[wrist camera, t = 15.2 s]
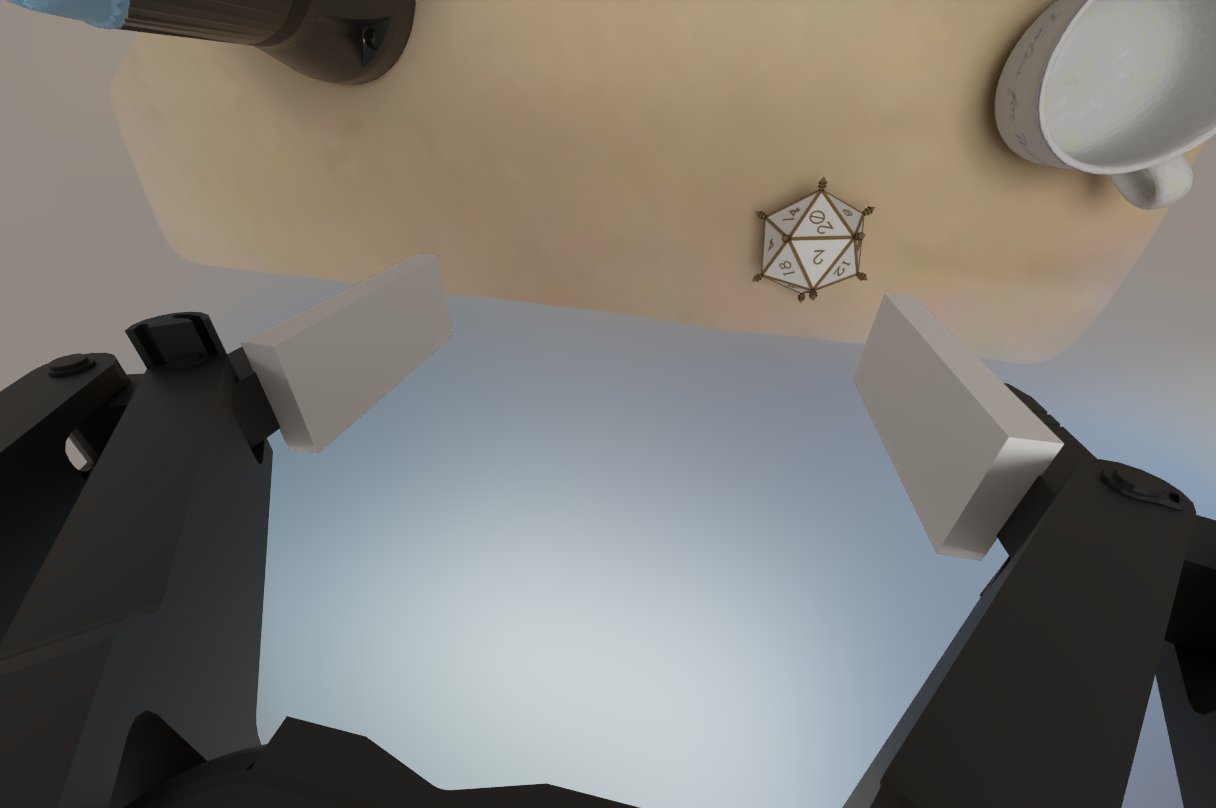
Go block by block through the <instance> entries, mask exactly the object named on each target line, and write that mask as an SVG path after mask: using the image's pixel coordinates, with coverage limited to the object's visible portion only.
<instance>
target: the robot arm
mask: <svg viewBox="0 0 1216 808" xmlns="http://www.w3.org/2000/svg"><path fill="white" fill-rule="evenodd" d="M7 1H9V2H11V3H14V4H17V5H19V6H22V7H25V8H28V9H30V10H34V11H38V12H42V13H47V14H52V15H57V16H61V17H66V18H71V19H76V20H81V21H84V22H86V23H88V24H90V25H93V26H95V27H98V28H105V29H122V30H130V31H138V32H146V33H155V34H163V35H171V36H179V37H187V38H196V39H204V40H212V41H220V42H228V43H237V44H245V45H251V46H255V47H256V48H258V49H260V50H262V51H263V52H265V53H267V54H269V55H270V56H272V57H274V58H275V59H277V60H279V61H281V62H282V63H284V64H286V65H288V66H289V67H291V68H293V69H294V70H296V71H298V72H300V73H302V74H304V75H306V76H309V77H311V78H314V79H317V80H321V81H325V82H331V83H343V84H359V83H364V82H368V81H371V80H373V79H375V78H377V77H379V76H380V75H382V74H383V73H385V72H386V71H387V70H388V69H389V68H390V67H391V66H392V65H393V64H394V62H395V61H396V60H397V58H398V57H399V55H400V54H401V52H402V50H403V48H404V46H405V44H406V41H407V38H408V35H409V32H410V28H411V24H412V19H413V13H414V1H415V0H7ZM125 332H126V334H127V335H128V337H129V339H130V340H131V342H132V344H133V345H134V347H135V349H136V351H137V352H138V354H139V356H140V357H141V359H142V361H143V362H144V364H145V366H146V367H147V370H146V372H145V374H128V375H126V373H125V371H124V370H123V368H122V367H121V365H120V363H119V362H118V360H117V359H116V357H115V356H114V355H112V354H108V353H90V354H73V355H69V356H64V357H61V358H57V359H55V360H53V361H51V362H50V363H48V364H45V365H43V366H41V367H39V368H37V369H35V370H33V371H31V372H30V373H28V374H27V375H25V376H23V377H22V378H20V379H19V380H17V381H16V382H14V383H13V384H11V385H10V386H8V387H7V388H5V389H4V390H2V391H1V392H0V808H638V807H635V806H631V805H627V804H623V803H619V802H616V801H612V800H608V799H604V798H600V797H596V796H592V795H589V794H585V793H581V792H576V791H573V790H569V789H565V788H562V787H558V786H554V785H550V784H535V785H521V786H505V787H491V788H477V789H464V790H443V789H439V788H437V787H435V786H433V785H432V784H430V783H429V782H428V781H426V780H425V779H423V778H422V777H421V776H419V775H418V774H416V773H415V772H414V771H412V770H411V769H410V768H408V767H407V766H406V765H404V764H403V763H401V762H400V761H399V760H397V759H396V758H395V757H393V756H392V755H390V754H389V753H388V752H386V751H385V750H383V749H382V748H381V747H379V746H378V745H377V744H375V743H374V742H372V741H371V740H370V739H368V738H367V737H365V736H361V735H357V734H353V733H349V732H346V731H342V730H338V729H334V728H330V727H326V726H322V725H319V724H315V723H311V722H307V721H303V720H299V719H295V718H291V717H288V716H287V717H286V719H285V720H284V721H283V723H282V724H281V726H280V727H279V729H278V730H277V731H276V733H275V734H274V736H273V737H272V739H271V740H270V741H269V743H268V744H265V745H261V743H260V740H259V736H258V732H257V726H256V705H257V690H258V674H259V659H260V658H259V657H260V643H261V628H262V612H263V597H264V582H265V565H266V550H267V535H268V518H269V503H270V488H271V473H272V457H273V451H272V448H271V446H270V444H269V442H268V440H267V437H268V436H270V435H271V434H272V433H274V432H275V431H277V430H278V429H280V431H281V433H282V435H283V438H284V440H285V442H286V444H287V447H288V449H289V450H295V451H301V452H307V453H314V454H319V453H320V452H321V451H322V450H323V449H324V448H325V447H327V446H328V445H329V444H330V443H331V442H332V441H334V440H335V439H336V438H337V437H338V436H339V435H340V434H341V433H343V432H344V431H345V430H346V429H347V428H348V427H349V426H351V425H352V424H353V423H354V422H355V421H356V420H357V419H359V418H360V417H361V416H362V415H363V414H364V413H365V412H366V411H367V410H369V409H370V408H371V407H372V406H373V405H374V404H376V403H377V402H378V401H379V400H380V399H381V398H382V397H383V396H385V395H386V394H387V393H388V392H389V391H390V390H391V389H393V388H394V387H395V386H396V385H397V384H398V383H399V382H400V381H402V380H403V379H404V378H405V377H406V376H407V375H408V374H410V373H411V372H412V371H413V370H414V369H415V368H416V367H418V366H419V365H420V364H421V363H422V362H423V361H424V360H425V359H427V358H428V357H429V356H430V355H431V354H432V353H433V352H435V351H436V350H437V349H438V348H439V347H440V346H441V345H443V344H444V343H445V342H446V341H447V340H448V339H449V338H450V337H451V336H453V333H452V327H451V322H450V316H449V310H448V304H447V298H446V293H445V287H444V281H443V275H442V270H441V264H440V258H439V255H431V254H419V253H416V254H414V255H412V256H410V257H408V258H406V259H404V260H402V261H400V262H398V263H396V264H394V265H392V266H390V267H388V268H387V269H385V270H383V271H381V272H379V273H377V274H375V275H373V276H371V277H369V278H367V279H365V280H363V281H361V282H359V283H357V284H355V285H353V286H351V287H349V288H347V289H345V290H343V291H341V292H339V293H337V294H335V295H333V296H331V297H329V298H327V299H325V300H323V301H321V302H319V303H317V304H315V305H313V306H311V307H309V308H307V309H305V310H303V311H301V312H299V313H297V314H295V315H293V316H291V317H289V318H288V319H285V320H283V321H282V322H279V323H277V324H275V325H273V326H272V327H269V328H267V329H266V330H264V331H262V332H260V333H258V334H256V335H254V336H252V337H250V338H248V339H246V340H244V341H242V342H241V344H242V347H241V348H239V349H237V350H235V351H233V352H231V353H229V354H227V353H226V351H225V349H224V347H223V345H222V343H221V341H220V339H219V337H218V334H217V332H216V330H215V328H214V326H213V324H212V322H211V320H210V318H209V316H208V315H207V314H204V313H201V312H182V313H173V314H167V315H161V316H157V317H154V318H150V319H146V320H143V321H141V322H139V323H136V324H134V325H132V326H130V327H129V328H128V329H127V330H125ZM853 381H854V383H855V385H856V387H857V390H858V392H859V393H860V396H861V398H862V400H863V402H864V404H865V406H866V408H867V410H868V412H869V415H870V417H871V419H872V420H873V423H874V425H875V427H876V429H877V431H878V433H879V435H880V437H881V439H882V442H883V444H884V446H885V448H886V450H887V452H888V454H889V456H890V458H891V460H892V462H893V464H894V466H895V468H896V471H897V473H898V475H899V477H900V479H901V481H902V483H903V485H904V487H905V489H906V492H907V494H908V495H909V498H910V500H911V502H912V504H913V506H914V508H915V510H916V512H917V514H918V516H919V518H920V521H921V523H922V525H923V527H924V529H925V531H926V533H927V535H928V537H929V539H930V541H931V543H932V545H933V548H934V550H935V552H936V554H941V555H947V556H954V557H960V558H966V559H972V560H979V561H981V560H982V559H983V558H984V556H985V555H986V554H987V552H988V551H989V549H990V548H991V546H992V545H993V544H994V542H995V541H996V539H997V538H998V539H999V540H1000V542H1001V544H1002V545H1003V547H1004V548H1005V550H1006V551H1007V553H1008V554H1009V557H1008V559H1007V560H1006V561H1005V562H1004V564H1003V565H1002V566H1001V568H1000V569H999V570H998V572H997V573H996V574H995V576H994V577H993V578H992V580H991V581H990V582H989V584H988V585H987V586H986V588H985V589H984V590H983V592H982V593H981V594H980V596H981V598H980V599H979V601H978V602H977V604H976V605H975V607H974V609H973V610H972V612H971V613H970V615H969V616H968V618H967V619H966V621H965V622H964V624H963V625H962V627H961V628H960V630H959V631H958V633H957V634H956V636H955V637H954V639H953V640H952V642H951V643H950V645H949V646H948V648H947V650H946V651H945V653H944V654H943V656H942V657H941V659H940V660H939V662H938V663H937V665H936V666H935V668H934V669H933V671H932V673H931V674H930V675H929V677H928V679H927V680H926V681H925V683H924V684H923V686H922V687H921V689H920V691H919V692H918V694H917V695H916V697H915V698H914V700H913V701H912V703H911V704H910V706H909V708H908V709H907V710H906V712H905V713H904V715H903V717H902V718H901V719H900V721H899V722H898V724H897V726H896V727H895V729H894V730H893V732H892V733H891V735H890V736H889V738H888V739H887V741H886V742H885V744H884V745H883V747H882V748H881V750H880V751H879V753H878V754H877V756H876V758H875V759H874V760H873V762H872V763H871V765H870V767H869V768H868V770H867V771H866V773H865V774H864V776H863V777H862V779H861V780H860V782H859V783H858V785H857V786H856V788H855V789H854V791H853V792H852V794H851V796H850V797H849V799H848V800H847V802H846V803H845V805H844V806H843V808H1121V807H1122V802H1123V799H1124V795H1125V791H1126V787H1127V783H1128V779H1129V775H1130V771H1131V767H1132V763H1133V759H1134V755H1135V752H1136V747H1137V744H1138V740H1139V736H1140V732H1141V728H1142V724H1143V720H1144V716H1145V712H1146V708H1147V704H1148V700H1149V696H1150V693H1151V689H1152V685H1153V681H1154V677H1155V674H1156V679H1157V683H1158V688H1159V693H1160V697H1161V702H1162V707H1163V711H1164V716H1165V721H1166V725H1167V730H1168V735H1169V739H1170V744H1171V749H1172V754H1173V758H1174V763H1175V768H1176V772H1177V777H1178V782H1179V786H1180V791H1181V796H1182V801H1183V805H1184V808H1216V520H1212V519H1209V518H1205V517H1201V516H1198V515H1196V511H1195V508H1194V504H1193V503H1192V502H1191V501H1190V500H1189V499H1188V498H1187V497H1186V496H1185V495H1184V494H1183V493H1182V492H1181V491H1180V490H1178V489H1176V488H1175V487H1174V486H1172V485H1170V484H1169V483H1167V482H1166V481H1164V480H1162V479H1160V478H1158V477H1156V476H1154V475H1152V474H1149V473H1147V472H1145V471H1143V470H1140V469H1137V468H1134V467H1131V466H1128V465H1125V464H1122V463H1118V462H1112V461H1107V460H1101V459H1097V458H1096V457H1094V456H1093V455H1092V454H1091V453H1090V452H1089V451H1088V450H1087V449H1086V448H1085V447H1084V446H1083V445H1082V444H1081V443H1080V442H1079V441H1078V440H1077V439H1075V438H1074V437H1073V436H1072V435H1071V434H1070V433H1069V432H1068V431H1067V430H1066V429H1065V428H1064V427H1060V423H1059V422H1057V421H1056V420H1055V419H1054V418H1053V417H1052V416H1051V415H1047V411H1046V410H1045V409H1044V408H1043V407H1042V406H1041V405H1039V404H1038V403H1037V402H1036V401H1035V400H1034V399H1033V398H1032V397H1030V396H1029V395H1027V394H1025V393H1023V392H1022V391H1020V390H1018V389H1016V388H1015V387H1013V386H1011V385H1009V384H1006V383H1003V382H1001V381H1000V380H999V379H998V377H997V376H995V375H994V374H993V373H992V372H991V371H990V370H989V369H988V368H987V367H986V366H985V365H984V364H983V363H982V362H981V361H980V360H979V359H978V358H977V357H976V356H975V355H974V354H973V353H972V352H971V351H970V350H969V349H968V348H967V347H966V346H965V345H964V344H963V343H962V342H961V341H960V340H959V339H958V338H957V337H956V336H955V335H954V334H953V333H952V332H951V331H950V330H949V329H948V328H947V327H946V326H945V325H944V324H943V323H942V322H941V321H940V320H939V319H938V318H937V317H936V316H935V315H934V314H933V313H932V312H931V311H930V310H929V309H928V308H927V307H926V306H925V305H924V304H923V303H922V302H921V301H920V300H919V299H918V298H917V297H916V296H915V295H904V294H893V293H884V295H883V298H882V301H881V304H880V307H879V309H878V312H877V315H876V318H875V320H874V323H873V326H872V329H871V331H870V334H869V337H868V340H867V343H866V345H865V348H864V351H863V354H862V356H861V360H860V362H859V365H858V368H857V370H856V373H855V376H854V379H853ZM68 437H69V438H70V440H71V441H72V442H73V444H74V445H75V446H76V447H77V448H78V450H79V451H80V453H81V454H82V455H83V457H84V458H85V459H86V460H87V463H86V465H84V466H83V467H82V469H80V470H78V469H76V468H75V467H74V466H73V465H72V463H71V462H70V461H69V459H68V456H67V454H66V452H65V445H66V440H67V438H68Z"/></svg>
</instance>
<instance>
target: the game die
mask: <svg viewBox="0 0 1216 808" xmlns="http://www.w3.org/2000/svg"><path fill="white" fill-rule="evenodd" d="M826 183H827V182H826V180H825V178H824V177H823V178H822V180H821V181H819V186H818V187H819V190H818V191H816V192H814V193H812V194H810V195H808V196H806V197H804V198H802V199H800V200H798V201H796V202H794V203H792V204H790V205H788V206H786V207H784V208H782V209H780V210H778V211H776V212H774V213H772V214H770V215H768V216H767V215H766V214H765V213H764V212H762V211H758V212H756V213H757V216H758V218H761V219H764V220H765V221H764V237H763V253H762V269H761V274H757V275H756V276H754V278H753V279H752V281H757V282H758V280H761V278H762V277H765V278H767V279H770V280H772V281H774V282H776V283H778V284H781V285H783V286H785V287H787V288H789V289H792V290H794V291H796V292H798V293H800V294H799V295H798V300H799V301H800V303H801V302H802V301H803V300H804V299H805V298H804V297H805V295H804V294H805V293H809V294H810V295H809V297H810V298H811V299H812V300H814V299H815V298H816V297H817V296H818V295H817V292H816V290H818V289H821V288H824V287H826V286H829V285H832V284H834V283H837V282H840V281H842V280H845V279H848V278H850V277H853V276H857V277H858V279H860V281H861V280H867V277H866V274H863V273H860V272H859V264H860V254H861V244H862V239H863V237H864V236H865V234H864V233H863V225H864V216H865V215H869V214H871V213H872V211H873V210H874V208H875V207H869V206H868V208H865V210H864V211H863V212H861V211H859V210H857V209H856V208H854V207H852V206H850V205H849V204H847V203H845V202H843V201H842V200H840V199H838V198H836V197H835V196H833V195H831V194H829V193H828V192H826V191H824V188H825V187H826Z"/></svg>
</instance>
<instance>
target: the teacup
mask: <svg viewBox="0 0 1216 808" xmlns="http://www.w3.org/2000/svg"><path fill="white" fill-rule="evenodd" d="M995 118H996V123H997V127H998V130H999V133H1000V135H1001V136H1002V138H1003V140H1004V142H1005V143H1006V144H1007V145H1008V147H1009V148H1010V149H1011V150H1012V151H1013V152H1015V153H1016V154H1018V155H1019V156H1020V157H1022V158H1024V159H1026V160H1028V161H1030V162H1033V163H1036V164H1040V165H1043V166H1048V167H1054V168H1060V169H1071V170H1079V171H1082V172H1086V173H1091V174H1099V175H1108V176H1109V177H1110V179H1111V180H1112V182H1113V183H1114V185H1115V186H1116V188H1117V189H1118V190H1119V192H1120V193H1121V194H1122V196H1123V197H1124V198H1125V199H1126V200H1127V201H1128V202H1130V203H1131V204H1133V205H1134V206H1136V207H1138V208H1141V209H1147V210H1152V209H1158V208H1161V207H1165V206H1167V205H1169V204H1171V203H1173V202H1175V201H1177V200H1179V199H1180V198H1182V197H1183V196H1184V195H1185V194H1186V193H1187V192H1188V191H1189V189H1190V188H1191V186H1192V181H1193V175H1192V169H1191V167H1190V165H1189V163H1188V161H1187V160H1186V159H1185V157H1184V156H1183V154H1184V153H1186V152H1187V151H1189V150H1191V149H1193V148H1195V147H1196V146H1198V145H1199V144H1201V143H1202V142H1204V141H1206V140H1207V139H1209V138H1210V137H1211V136H1213V135H1214V134H1215V133H1216V0H1057V1H1055V2H1054V3H1053V4H1052V5H1051V6H1050V7H1049V8H1047V9H1046V10H1045V11H1044V12H1043V13H1042V14H1041V15H1040V16H1039V17H1038V18H1037V19H1036V20H1035V21H1034V23H1033V24H1032V25H1031V26H1030V27H1029V28H1028V29H1027V30H1026V32H1025V33H1024V34H1023V36H1022V37H1021V38H1020V40H1019V41H1018V43H1017V44H1016V46H1015V47H1014V49H1013V51H1012V52H1011V54H1010V56H1009V58H1008V60H1007V62H1006V64H1005V66H1004V68H1003V71H1002V73H1001V76H1000V79H999V82H998V86H997V90H996V97H995ZM1147 173H1148V174H1149V175H1148V174H1147Z"/></svg>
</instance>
